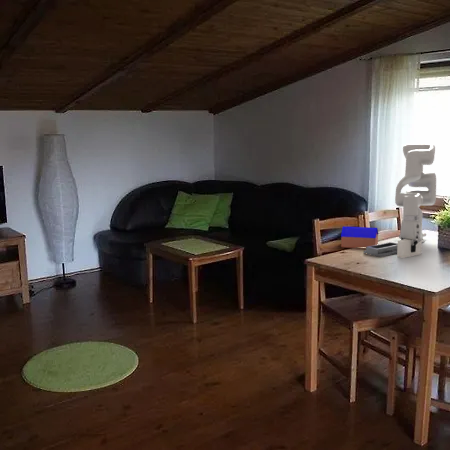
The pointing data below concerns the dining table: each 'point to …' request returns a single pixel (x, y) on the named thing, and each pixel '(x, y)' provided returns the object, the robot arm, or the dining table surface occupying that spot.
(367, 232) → the blue shipping container
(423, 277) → the dining table surface
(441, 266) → the dining table surface
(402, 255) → the white block
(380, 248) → the grey holder tray
